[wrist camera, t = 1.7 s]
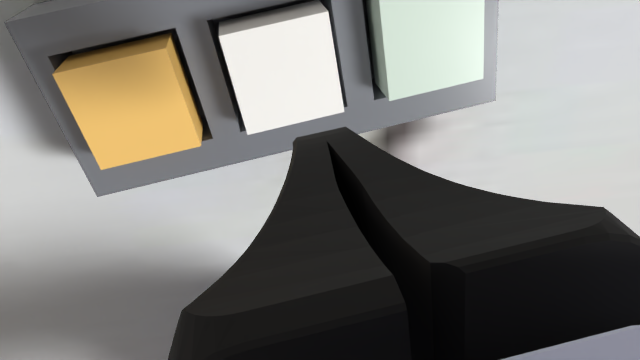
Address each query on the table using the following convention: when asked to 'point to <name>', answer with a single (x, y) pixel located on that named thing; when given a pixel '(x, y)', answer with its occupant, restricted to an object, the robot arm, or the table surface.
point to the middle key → (282, 66)
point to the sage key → (425, 44)
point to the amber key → (131, 100)
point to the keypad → (222, 77)
